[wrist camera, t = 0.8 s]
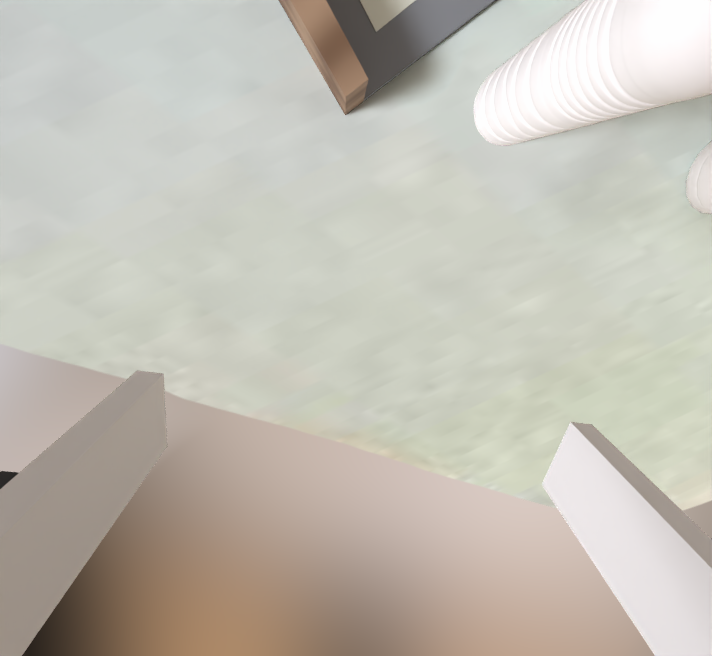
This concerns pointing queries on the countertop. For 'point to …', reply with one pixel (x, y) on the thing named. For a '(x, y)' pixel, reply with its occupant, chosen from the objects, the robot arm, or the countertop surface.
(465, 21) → the mat
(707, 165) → the bottle
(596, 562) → the robot arm
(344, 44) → the corner walls
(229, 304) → the countertop surface
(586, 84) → the water bottle
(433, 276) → the countertop surface
